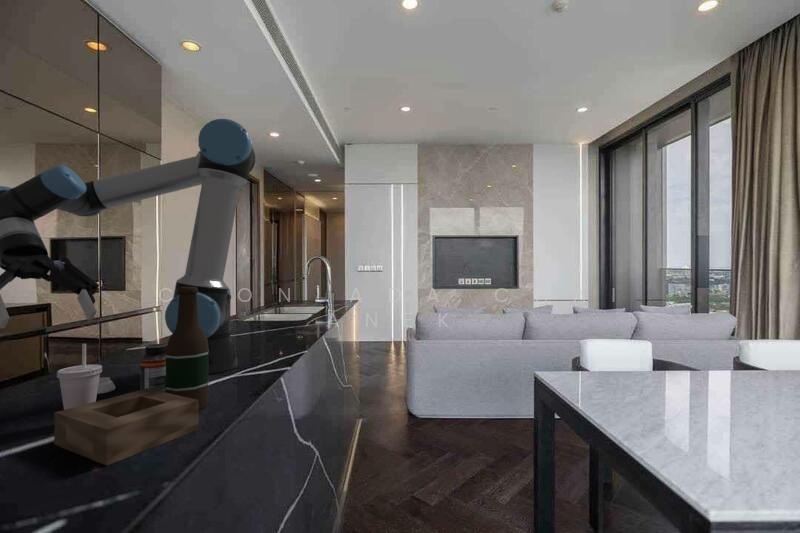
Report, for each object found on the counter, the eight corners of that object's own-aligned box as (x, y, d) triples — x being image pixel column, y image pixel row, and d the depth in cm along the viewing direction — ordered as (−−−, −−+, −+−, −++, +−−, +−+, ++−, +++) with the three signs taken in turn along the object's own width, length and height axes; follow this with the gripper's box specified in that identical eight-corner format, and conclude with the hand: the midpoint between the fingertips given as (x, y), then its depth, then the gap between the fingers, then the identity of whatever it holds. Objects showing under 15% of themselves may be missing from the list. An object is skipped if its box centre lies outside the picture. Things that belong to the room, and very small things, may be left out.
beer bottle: (178, 401, 81) (179, 286, 82) (216, 401, 82) (216, 286, 82) (156, 415, 74) (156, 287, 74) (197, 414, 74) (197, 287, 74)
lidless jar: (82, 396, 86) (107, 395, 87) (82, 382, 86) (107, 381, 87) (96, 389, 91) (119, 388, 92) (96, 376, 91) (119, 375, 92)
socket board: (146, 415, 74) (146, 388, 74) (198, 429, 67) (198, 399, 67) (54, 444, 61) (54, 412, 61) (106, 465, 54) (107, 429, 54)
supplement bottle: (143, 395, 85) (143, 343, 86) (174, 392, 88) (174, 341, 88) (136, 404, 80) (137, 348, 80) (170, 400, 82) (170, 346, 82)
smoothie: (105, 422, 70) (105, 344, 71) (57, 432, 66) (58, 349, 66) (99, 413, 75) (99, 339, 75) (54, 422, 70) (55, 344, 70)
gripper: (81, 259, 95) (114, 325, 88) (-76, 254, 73) (-49, 341, 66) (93, 236, 93) (128, 302, 86) (-66, 224, 71) (-36, 312, 64)
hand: (51, 319), depth 76 cm, fingers open, 13 cm apart
